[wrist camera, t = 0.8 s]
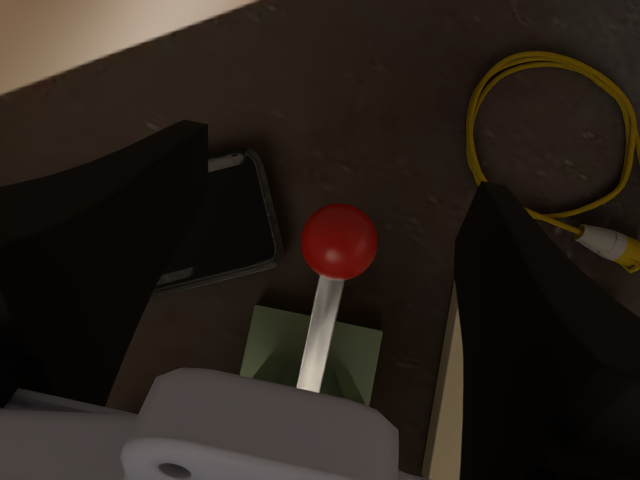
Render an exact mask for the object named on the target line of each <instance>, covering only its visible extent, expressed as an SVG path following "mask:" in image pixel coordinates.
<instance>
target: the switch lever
mask: <svg viewBox="0 0 640 480" xmlns="http://www.w3.org/2000/svg"><path fill="white" fill-rule="evenodd" d="M377 246H378V239H377V233H376V229H375V227H374V225H373V223H372V221H371V220H370V218H369V217H368V216H367V215H366V214H365V213H364V212H362V211H361V210H360V209H358V208H356V207H354V206H351V205H348V204H331V205H327V206H325V207H322V208H320V209H319V210H317V211H316V212H315V213H313V214H312V215H311V216H310V218H309V219H308V220H307V222H306V223H305V225H304V228H303V231H302V234H301V250H302V254H303V256H304V259H305V260H306V262H307V264H308V265H309V266H310V268H311V269H312V270H313V271H315V272H316V273H317V274H319V276H318V281H317V286H316V291H315V296H314V300H313V305H312V310H311V315H310V320H309V325H308V329H307V334H306V339H305V344H304V349H303V354H302V358H301V363H300V368H299V373H298V378H297V383H296V387H295V388H299V389H304V390H308V391H313V392H318V393H320V392H321V387H322V383H323V378H324V374H325V369H326V364H327V360H328V355H329V351H330V346H331V342H332V337H333V332H334V328H335V323H336V319H337V314H338V309H339V305H340V300H341V296H342V291H343V287H344V282H345V280H348V279H351V278H354V277H356V276H358V275H360V274H361V273H363V272H364V271H365V270H366V269H367V268H368V267H369V266H370V264H371V263H372V261H373V259H374V257H375V255H376V252H377Z"/></svg>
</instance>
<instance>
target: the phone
mask: <svg viewBox="0 0 640 480" xmlns="http://www.w3.org/2000/svg"><path fill="white" fill-rule="evenodd" d="M208 179H209V189H208V191H207V194H206V196H205V199H204V201H203V204H202V206H201V209H200V211H199V213H198V216H197V218H196V220H195V221H194V223H193V225H192V226H191V228H190V230H189V231H188V233H187V235H186V236H185V238H184V240H183V241H182V243H181V245H180V246H179V248H178V250H177V251H176V253H175V254H174V256H173V258H172V259H171V261H170V263H169V264H168V266H167V268H166V269H165V271H164V272H163V274H162V276H161V277H160V279H159V281H158V283H157V285H156V287H155V288H154V290H153V292H152V294H151V297H150V299H152V298H156V297H160V296H164V295H168V294H172V293H176V292H180V291H184V290H188V289H192V288H196V287H200V286H204V285H208V284H212V283H216V282H220V281H224V280H228V279H232V278H236V277H240V276H244V275H248V274H252V273H256V272H260V271H264V270H268V269H271V268H274V267H276V266H277V265H278V264H279V263H280V262H281V260H282V258H283V254H284V247H283V243H282V239H281V235H280V231H279V226H278V222H277V218H276V214H275V210H274V206H273V202H272V198H271V194H270V189H269V185H268V181H267V177H266V173H265V169H264V165H263V163H262V160H261V158H260V156H259V155H258V154H257V152H255V151H254V150H252V149H248V148H239V149H235V150H231V151H226V152H222V153H218V154H214V155H209V156H208Z"/></svg>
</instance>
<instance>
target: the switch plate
mask: <svg viewBox="0 0 640 480" xmlns="http://www.w3.org/2000/svg"><path fill="white" fill-rule="evenodd" d="M462 419H463V347H462V337H461V328H460V320H459V311H458V303H457V294H456V285H455V281H454V285H453V291H452V297H451V303H450V309H449V314H448V320H447V326H446V332H445V338H444V344H443V349H442V355H441V361H440V367H439V373H438V379H437V384H436V390H435V396H434V402H433V408H432V414H431V419H430V425H429V431H428V437H427V443H426V449H425V454H424V460H423V466H422V472H421V474H422V475H423V477H424V478H428V479H433V480H459V477H460V463H461V442H462Z"/></svg>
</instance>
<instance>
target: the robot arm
mask: <svg viewBox="0 0 640 480" xmlns="http://www.w3.org/2000/svg"><path fill="white" fill-rule="evenodd" d="M208 189H209V179H208V124H204V123H199V122H194V121H189V120H183V121H180V122H178V123H175V124H173V125H171V126H169V127H167V128H165V129H163V130H161V131H159V132H157V133H155V134H153V135H150V136H148V137H146V138H144V139H142V140H140V141H138V142H136V143H134V144H132V145H130V146H127V147H125V148H123V149H121V150H118V151H116V152H113V153H111V154H109V155H106V156H104V157H102V158H99V159H97V160H95V161H92V162H89V163H87V164H84V165H81V166H78V167H75V168H72V169H69V170H66V171H63V172H59V173H56V174H53V175H49V176H45V177H41V178H37V179H33V180H29V181H24V182H20V183H16V184H12V185H7V186H2V187H0V480H433V479H428V478H424V477H419V476H414V475H410V474H407V473H405V472H402V471H400V470H398V460H399V432H398V429H397V428H396V427H394V426H393V425H392V424H391V423H390V422H389V421H388V420H387V419H386V418H385V417H384V416H383V415H382V414H381V413H380V412H379V411H377V410H376V409H373V408H371V407H368V406H365V405H363V404H360V403H358V402H355V401H352V400H350V399H345V398H340V397H336V396H331V395H327V394H322V393H318V392H313V391H308V390H304V389H299V388H295V387H290V386H285V385H281V384H276V383H272V382H267V381H263V380H258V379H253V378H249V377H244V376H240V375H235V374H230V373H226V372H221V371H217V370H212V369H199V368H184V367H183V368H179V369H176V370H173V371H171V372H168V373H166V374H163V375H160V376H158V377H156V378H155V380H154V383H153V385H152V387H151V389H150V391H149V393H148V395H147V397H146V399H145V401H144V403H143V406H142V408H141V410H140V412H139V414H134V413H130V412H125V411H121V410H116V409H112V408H107V407H105V405H106V403H107V400H108V397H109V394H110V392H111V389H112V386H113V384H114V381H115V379H116V376H117V374H118V371H119V369H120V366H121V364H122V361H123V359H124V356H125V354H126V351H127V349H128V346H129V344H130V342H131V339H132V337H133V335H134V332H135V330H136V328H137V325H138V323H139V321H140V319H141V316H142V314H143V312H144V310H145V308H146V305H147V303H148V301H149V299H150V297H151V294H152V292H153V290H154V288H155V287H156V285H157V283H158V281H159V279H160V277H161V276H162V274H163V272H164V271H165V269H166V268H167V266H168V264H169V263H170V261H171V259H172V258H173V256H174V254H175V253H176V251H177V250H178V248H179V246H180V245H181V243H182V241H183V240H184V238H185V236H186V235H187V233H188V231H189V230H190V228H191V226H192V225H193V223H194V221H195V220H196V218H197V216H198V213H199V211H200V209H201V206H202V204H203V201H204V199H205V196H206V194H207V191H208ZM454 276H455V285H456V294H457V303H458V311H459V320H460V328H461V337H462V347H463V419H462V442H461V463H460V477H459V480H640V318H639V317H638V316H636V315H635V314H634V313H632V312H631V311H630V310H628V309H627V308H626V307H624V306H623V305H622V304H620V303H619V302H618V301H616V300H615V299H614V298H613V297H611V296H610V295H609V294H608V293H606V292H605V291H604V290H603V289H602V288H601V287H599V286H598V285H597V284H596V283H595V282H594V281H593V280H591V279H590V278H589V277H588V276H587V275H586V274H585V273H584V272H583V271H581V270H580V269H579V268H578V267H577V266H576V265H575V264H574V263H573V262H572V261H571V260H570V259H569V258H568V257H567V256H566V255H565V254H564V253H563V252H562V250H561V249H560V248H559V247H558V246H557V245H556V244H555V243H554V242H553V241H552V240H551V239H550V237H549V236H548V235H547V234H546V233H545V232H544V231H543V229H542V228H541V227H540V226H539V225H538V224H537V222H536V221H535V220H534V219H533V218H532V216H531V215H530V214H529V213H528V212H527V210H526V209H525V208H524V207H523V205H522V204H521V203H520V202H519V201H518V199H517V198H516V197H515V196H514V195H513V194H512V192H511V191H510V190H509V189H508V188H507V187H506V186H505V185H500V184H495V183H490V182H485V181H481V183H480V185H479V187H478V190H477V192H476V194H475V196H474V199H473V201H472V203H471V205H470V208H469V210H468V212H467V215H466V217H465V219H464V221H463V224H462V226H461V228H460V230H459V233H458V235H457V237H456V240H455V256H454Z"/></svg>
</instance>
